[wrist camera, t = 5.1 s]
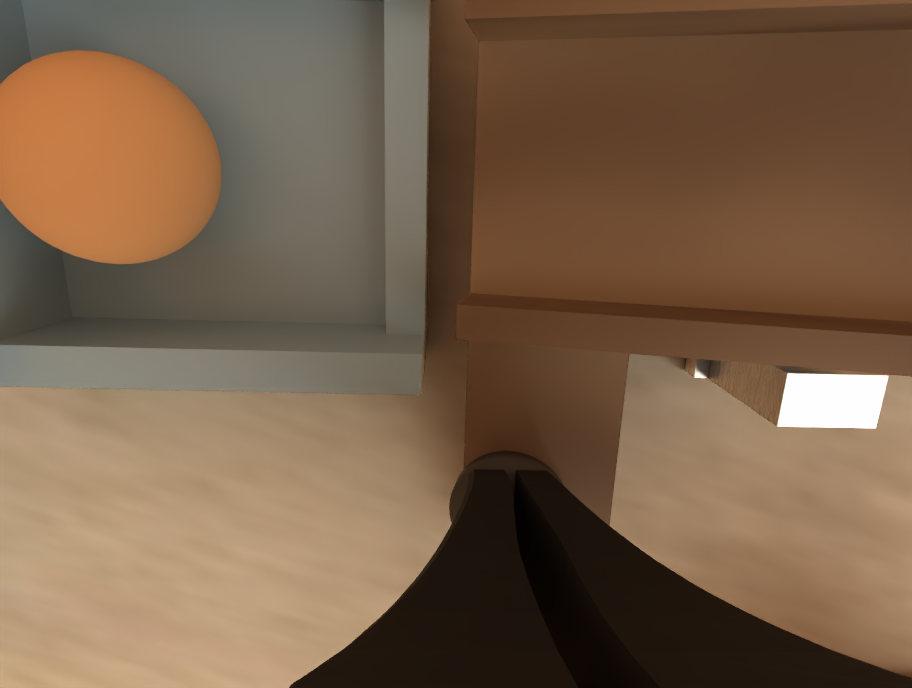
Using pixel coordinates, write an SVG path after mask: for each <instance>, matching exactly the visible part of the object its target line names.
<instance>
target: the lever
mask: <svg viewBox="0 0 912 688" xmlns="http://www.w3.org/2000/svg"><path fill="white" fill-rule="evenodd" d="M465 20H466V21H467V23H468V25H469V26H470V28H471V29H472V31H473V33H474V34H475V36H476V37H477V39H478V41H479V54H478V82H477V111H476V139H475V167H474V196H473V224H472V252H471V280H470V294H469V295H467V296H466V297H465V298H464V299H463V300H462V301H460V302H459V303H458V304H457V316H456V339H461V340H468V365H467V394H466V422H465V450H464V470H463V471H462V472H461V474H460V476H459V477H458V479H457V482H456V484H455V486H454V489H453V491H452V494H451V498H450V505H449V510H450V518H451V522H452V523H453V521H454V519H455V517H456V515H457V512H458V510H459V508H460V506H461V503H462V501H463V498H464V495H465V492H466V489H467V485H468V474H469V473H470V472H471V471H473V470H474V469H490V470H505V472H506V473H507V475H508V477H509V479H510V482H511V486H512V495H513V504H514V491H515V475H516V470H536V471H541V470H547V471H548V472H549V473H550V474H551V475H553V476H554V477H555V478H556V479H557V480H558V481H559V482H560V483H561V484H562V485H563V486H565V487H566V488H567V489H568V490H569V491H570V492H571V493H572V494H573V495H574V496H575V497H576V498H578V499H579V500H580V501H581V502H582V503H583V504H584V505H585V506H586V507H588V508H589V509H590V510H591V511H592V512H593V513H595V514H596V515H597V516H598V517H599V518H600V519H602V520H603V521H604V522H605V523H606V524H608V525H609V523H610V515H611V506H612V497H613V489H614V480H615V471H616V463H617V454H618V445H619V437H620V428H621V420H622V411H623V402H624V394H625V385H626V376H627V368H628V359H629V353H633V354H645V355H657V356H670V357H682V358H694V359H706V360H718V361H731V362H743V363H755V364H767V365H780V366H792V367H804V368H816V369H829V370H841V371H853V372H865V373H878V374H890V375H902V376H912V0H466V6H465Z"/></svg>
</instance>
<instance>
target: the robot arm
mask: <svg viewBox="0 0 912 688" xmlns="http://www.w3.org/2000/svg"><path fill="white" fill-rule="evenodd" d="M289 688H912V679H910V678H907V677H904V676H902V675H899V674H896V673H893V672H890V671H888V670H885V669H882V668H879V667H877V666H874V665H871V664H868V663H865V662H863V661H860V660H857V659H854V658H851V657H849V656H846V655H843V654H840V653H838V652H835V651H832V650H830V649H827V648H825V647H823V646H820V645H818V644H816V643H813V642H811V641H809V640H806V639H804V638H802V637H799V636H797V635H795V634H792V633H790V632H788V631H785V630H783V629H781V628H778V627H776V626H774V625H772V624H770V623H768V622H765V621H763V620H761V619H759V618H757V617H755V616H753V615H751V614H749V613H747V612H745V611H743V610H741V609H739V608H737V607H735V606H733V605H731V604H729V603H727V602H725V601H724V600H722V599H720V598H718V597H716V596H714V595H712V594H710V593H708V592H707V591H705V590H703V589H701V588H700V587H698V586H696V585H694V584H693V583H691V582H689V581H687V580H686V579H684V578H683V577H681V576H680V575H678V574H676V573H675V572H673V571H672V570H670V569H668V568H667V567H665V566H664V565H662V564H661V563H659V562H657V561H656V560H654V559H653V558H652V557H650V556H649V555H647V554H646V553H644V552H643V551H641V550H640V549H639V548H637V547H636V546H635V545H633V544H632V543H631V542H629V541H628V540H627V539H626V538H624V537H623V536H622V535H620V534H619V533H618V532H616V531H615V530H614V529H613V528H611V527H610V526H609V525H608V524H606V523H605V522H604V521H603V520H602V519H600V518H599V517H598V516H597V515H596V514H595V513H593V512H592V511H591V510H590V509H589V508H588V507H586V506H585V505H584V504H583V503H582V502H581V501H580V500H579V499H578V498H576V497H575V496H574V495H573V494H572V493H571V492H570V491H569V490H568V489H567V488H566V487H565V486H563V485H562V484H561V483H560V482H559V481H558V480H557V479H556V478H555V477H554V476H553V475H551V474H550V473H549V472H548V471H547V470H541V471H536V470H516V475H515V491H514V504H513V495H512V486H511V482H510V479H509V477H508V475H507V473H506V472H505V470H490V469H474V470H473V471H471V472H470V473H469V474H468V485H467V489H466V492H465V495H464V498H463V501H462V503H461V506H460V508H459V510H458V512H457V515H456V517H455V519H454V521H453V523H452V525H451V527H450V529H449V530H448V532H447V534H446V535H445V537H444V539H443V541H442V542H441V544H440V546H439V547H438V549H437V551H436V552H435V554H434V555H433V557H432V558H431V559H430V561H429V562H428V564H427V565H426V566H425V568H424V569H423V570H422V572H421V573H420V574H419V576H418V577H417V578H416V579H415V581H414V582H413V583H412V584H411V585H410V586H409V587H408V589H407V590H406V591H405V592H404V593H403V594H402V595H401V597H400V598H399V599H398V600H397V601H396V602H395V603H394V604H393V605H392V606H391V607H390V608H389V609H388V610H387V611H386V612H385V613H384V614H383V615H382V616H381V617H380V618H379V619H378V620H377V621H375V622H374V623H373V624H372V625H371V626H370V627H369V628H368V629H366V630H365V631H364V632H363V633H362V634H361V635H360V636H359V637H357V638H356V639H355V640H354V641H353V642H352V643H351V644H349V645H348V646H347V647H346V648H344V649H343V650H342V651H340V652H339V653H337V654H336V655H334V656H333V657H332V658H330V659H329V660H327V661H326V662H324V663H323V664H321V665H320V666H318V667H317V668H316V669H314V670H313V671H311V672H310V673H308V674H307V675H305V676H304V677H302V678H300V679H299V680H297V681H296V682H294V683H293V684H292V685H291V686H290V687H289Z"/></svg>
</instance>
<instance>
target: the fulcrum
mask: <svg viewBox="0 0 912 688" xmlns="http://www.w3.org/2000/svg"><path fill="white" fill-rule="evenodd" d="M685 371H686V372H687V373H688V374H690V375H691V376H693V377H694V378H708V379H709V380H711V381H712V382H714V383H715V384H717V385H718V386H720V387H721V388H722V389H724V390H725V391H727V392H728V393H730V394H731V395H733V396H734V397H735V398H737V399H738V400H740V401H741V402H743V403H744V404H745V405H747V406H748V407H750V408H751V409H753V410H754V411H756V412H757V413H758V414H760V415H761V416H763V417H764V418H766V419H767V420H768V421H770V422H771V423H773V424H774V425H776V426H777V427H828V428H876V425H877V421H878V417H879V413H880V409H881V405H882V401H883V397H884V393H885V389H886V385H887V381H888V377H889V375H886V374H878V373H865V372H853V371H841V370H829V369H816V368H804V367H792V366H780V365H767V364H755V363H743V362H731V361H718V360H706V359H694V358H687V360H686V367H685Z"/></svg>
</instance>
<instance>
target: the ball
mask: <svg viewBox="0 0 912 688" xmlns="http://www.w3.org/2000/svg"><path fill="white" fill-rule="evenodd" d="M221 180H222V176H221V162H220V156H219V152H218V148H217V144H216V142H215V139H214V136H213V134H212V132H211V130H210V128H209V126H208V124H207V122H206V121H205V119H204V118H203V116H202V115H201V113H200V111H199V110H198V109H197V107H196V106H195V105H194V104H193V102H192V101H191V100H190V99H189V98H188V97H187V96H186V95H185V94H184V93H183V92H182V91H181V90H180V89H179V88H178V87H176V86H175V85H174V84H173V83H172V82H170V81H169V80H168V79H166V78H165V77H163V76H162V75H160V74H159V73H157V72H155V71H154V70H152V69H150V68H148V67H147V66H145V65H142V64H140V63H138V62H135V61H133V60H130V59H127V58H125V57H122V56H117V55H113V54H109V53H104V52H99V51H82V50H74V51H65V52H58V53H53V54H49V55H46V56H42V57H40V58H37V59H35V60H32V61H30V62H28V63H26V64H24V65H23V66H21V67H20V68H19V69H17V70H16V71H15V72H13V73H12V74H10V75H9V76H8V77H7V78H6V79H5V80H4V81H3V82H2V83H1V85H0V199H1V201H2V202H3V203H4V205H5V206H6V207H7V209H8V210H9V211H10V212H11V213H12V214H13V215H14V217H15V218H16V219H17V220H18V221H19V222H20V223H21V224H22V225H24V226H25V227H26V228H27V229H28V230H29V231H31V232H32V233H33V234H35V235H36V236H38V237H39V238H40V239H42V240H43V241H45V242H47V243H48V244H50V245H52V246H53V247H55V248H58V249H60V250H62V251H64V252H66V253H69V254H71V255H74V256H77V257H81V258H84V259H88V260H91V261H95V262H102V263H111V264H134V263H142V262H147V261H152V260H156V259H159V258H162V257H164V256H167V255H169V254H171V253H173V252H175V251H177V250H179V249H181V248H182V247H184V246H185V245H186V244H188V243H189V242H190V241H192V240H193V239H194V238H195V237H196V236H197V235H198V234H199V233H200V232H201V231H202V230H203V228H204V227H205V226H206V224H207V223H208V221H209V220H210V218H211V216H212V214H213V212H214V210H215V208H216V205H217V202H218V199H219V195H220V190H221Z"/></svg>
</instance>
